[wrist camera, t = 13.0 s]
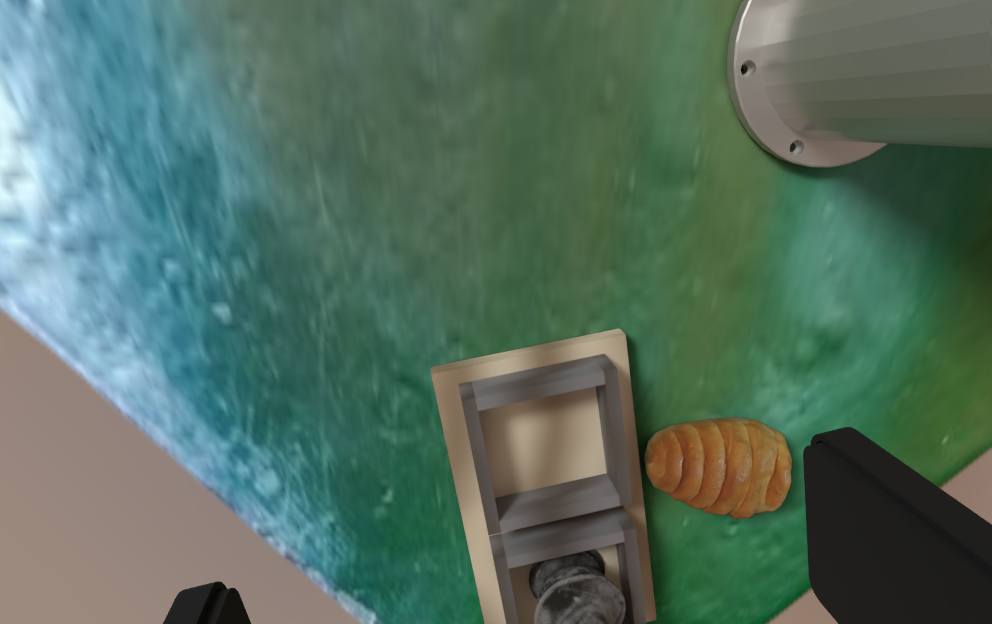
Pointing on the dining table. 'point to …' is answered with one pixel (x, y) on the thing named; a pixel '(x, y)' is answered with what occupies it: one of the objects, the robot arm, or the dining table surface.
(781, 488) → the pastry
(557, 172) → the dining table surface
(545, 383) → the collar board
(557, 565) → the salt shaker
